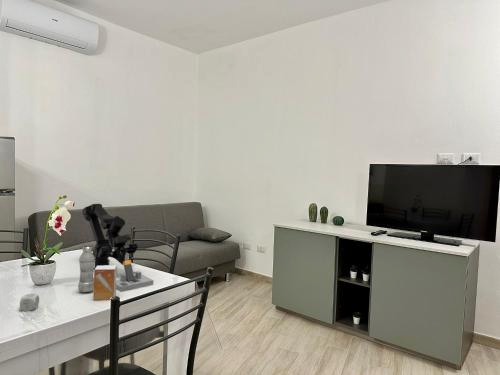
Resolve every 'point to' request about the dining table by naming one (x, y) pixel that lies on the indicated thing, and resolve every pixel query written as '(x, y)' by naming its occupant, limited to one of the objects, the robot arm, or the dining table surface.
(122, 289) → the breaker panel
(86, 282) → the plastic bottle
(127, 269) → the lever
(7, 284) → the dining table surface
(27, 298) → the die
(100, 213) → the robot arm
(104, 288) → the small box
